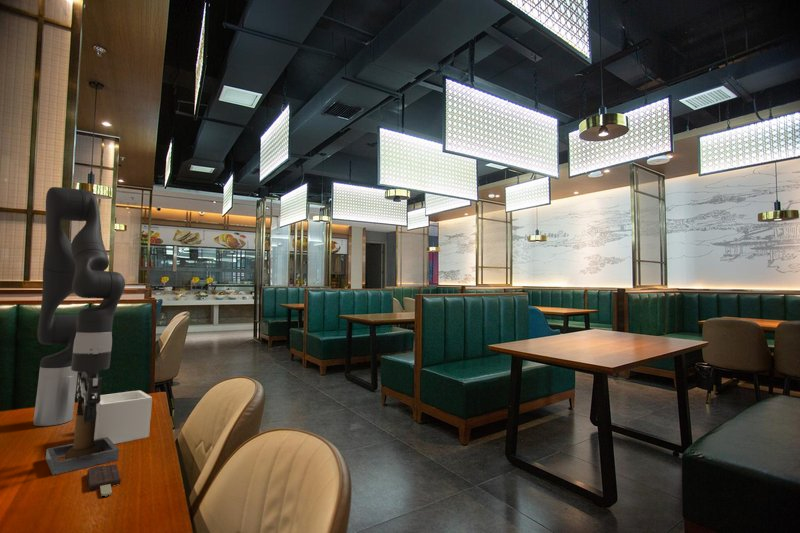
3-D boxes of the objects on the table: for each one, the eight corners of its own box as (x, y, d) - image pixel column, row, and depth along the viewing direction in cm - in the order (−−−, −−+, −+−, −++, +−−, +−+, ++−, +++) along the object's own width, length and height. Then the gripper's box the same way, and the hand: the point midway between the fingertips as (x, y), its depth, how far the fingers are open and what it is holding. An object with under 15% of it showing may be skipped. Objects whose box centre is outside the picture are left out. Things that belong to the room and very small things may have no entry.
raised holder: (87, 436, 109) (91, 396, 111) (136, 426, 118) (140, 390, 119) (96, 447, 101) (100, 404, 102) (148, 436, 110) (152, 397, 111)
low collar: (45, 459, 93) (46, 448, 94) (106, 446, 102) (107, 437, 102) (52, 475, 85) (53, 463, 86) (117, 460, 94) (118, 449, 94)
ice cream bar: (122, 495, 79) (115, 469, 90) (123, 487, 79) (116, 462, 90) (89, 503, 75) (86, 475, 86) (90, 494, 75) (87, 468, 87)
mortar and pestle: (57, 466, 90) (66, 387, 92) (73, 455, 96) (80, 381, 98) (91, 464, 92) (99, 386, 93) (104, 453, 98) (111, 381, 99)
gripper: (68, 348, 98) (61, 414, 97) (78, 354, 89) (70, 427, 87) (104, 346, 104) (98, 409, 102) (117, 352, 94) (111, 420, 92)
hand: (85, 417), depth 94 cm, fingers open, 8 cm apart
